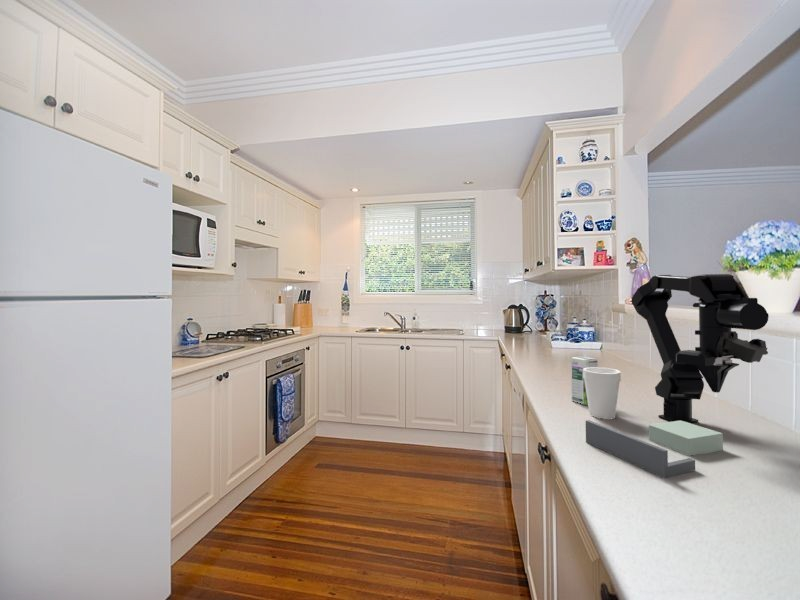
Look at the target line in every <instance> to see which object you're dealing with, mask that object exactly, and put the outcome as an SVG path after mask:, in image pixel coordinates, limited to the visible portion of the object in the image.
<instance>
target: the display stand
mask: <svg viewBox="0 0 800 600" xmlns="http://www.w3.org/2000/svg"><path fill="white" fill-rule="evenodd" d="M585 443H587V444H589V445H591V446H594V447H596V448H598V449H600V450H603V451H605V452H607V453H609V454H611V455H614V456H615V457H618V458H620V459H622V460H624V461H626V462H629V463H631V464H633V465H635V466H637V467H639V468H642V469H644V470H646V471H648V472H650V473H653V474H654V475H657V476H659V477H662V478H664V479H665V478H669V477H670V478H671V477H674V476H678V475H681V474H686V473H690V472H694V471H696V459H693V458H691V457H689V458H684V459H678V460H674V461H669V462H668V460H669V457H668V450H667V449H665V448H662V447H660V446H657V445H655V444H653V443H650V442H647V441H644V440H641V439H638V438H636V437H634V436H631V435H628V434H626V433H623V432H621V431H618V430H617V429H615V428H610V427H608V426H605V425H603V424H600V423H598V422H594V421H593V420H590V419H587V420H585Z"/></svg>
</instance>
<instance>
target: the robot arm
mask: <svg viewBox="0 0 800 600" xmlns="http://www.w3.org/2000/svg"><path fill="white" fill-rule="evenodd" d="M661 290H662V291H661ZM672 291H679V292H680V291H682V292H688V293H689V295H691V296H693V297H696V298H698V300H696V301H695V302H694V303H693V304H692V307H693V308H698V317H699V318H698V321H699V322H698V323H699V324H698V325H699V326H698V327H699V328H698V330H697V329H696V330H695V329H694V335H697V336H699V338H698V339H699V346H695V347H694V349H692V350H691V349H686V350H685V349H684V350H683V349H682V350H681V348H680V345H679V343H678V341H677V338H676V336H675V334H674V331H673V329H672V326H671V324H670V322H669V319H668V317H667V314H666V313H667V311H668V308H669V304H668V302H669V301H670V300H671V299H672V297H673V293H672ZM631 303H632V305H633V307H634V309H635V312H636V314H638V315H639V316H640V317H641V318H643V319H644V320H645V321H646V323H647V325H648V328H649V330H650V333H651V336H652V338H653V341H654V343H655V346H656V348H657V350H658V353H659V356H660V359H661V361H662V364H663V365H662V369H661V371H660V377H661V380H660V381H659V382H658V383H657V385H656V386H655V387H654V390H655V395H656V396H657V397H660V398H663V405H662V406H663V414H659V415H658V418H660V419H663V420H667V421H668V422H672V421H680V420H681V421H684V422H688V423H691V424H694V423H699V419H698V418H693V400H701V397H702V394H703V391H704V387H705V382H706V383H707V384H708V385H707V386H709V389H711V392H713V393H716V394H717V393H720V392H721V390H722V387H723V385H724V384H725V383H724V382H725V380H726V377H727V375H728V373H729V372H730V371H731V370H732V369H734V368H735V367H739V366H740V363H736V362H733V359H737V360H741V361H742V362H744V363H748V364H750V363H751V364H752V363H754V362H756V363H760V362H761V360H762V358H763V356H766V355H768V354H769V352H768V351H767V350H768V347H767V344H766V341H765V340H762V339H760V338H753V339H751V340H750V341H749V340H746V339H745V340H744V339H740V338H739V336H738V335H739V334H738V333H737V331H735V330H733V331H732V329H737V330H738V329H739V330H749V331H750V330H751V331H758V330H760V329H763V328H764V327H765V326H766V325H767V323H768V321H769V316H770V315H769V313H768V312H767V310H766V308H765V306H763V305H761V304H760V303H759V302H758V298H757V297H748V296H747V294H746V292H745V291H744V290H743V289H742V287H741V286H740V284H739V283H738V281H737V280H736V279H735V278H734V275H733V274H730V273H717V274H716V273H715V274H714V273H712V274H711V273H710V274H704V273H703V274H702V273H701V274H697V275H692V276H683V275H682V276H681V275H672V274H656V275H652V277H651V278H650V279H649V281H647V282H645V284H643V285H641V286H639V287H637V289H636V291H635V292H634V294H633V295H632V296H631ZM703 379H704V380H705V382H704V380H703Z"/></svg>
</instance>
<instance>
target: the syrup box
mask: <svg viewBox="0 0 800 600" xmlns="http://www.w3.org/2000/svg"><path fill="white" fill-rule="evenodd" d="M598 361H599V359H598V358H593V357H587V356H586V357H585V356H573V357H571V358H570V362H571V363H570V365H571V366H570V369H571V370H570V371H571V373H570V374H571V380H570V381H571V402H573V401H574V403H577V402H578V403H577V404H580V403H581V404H580V405H583V406H584V405H585V406H588V400H587V394H586V387H585V381H584V378H583V369H584V368H590V367H598ZM598 368H599V367H598Z"/></svg>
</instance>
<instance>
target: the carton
mask: <svg viewBox="0 0 800 600" xmlns="http://www.w3.org/2000/svg"><path fill="white" fill-rule="evenodd" d="M723 435H724V433H722V432H720V431H717V430H714V429H709V428H706V427H703V426H700V425H697V424H694V423H688V422H684V421H681V420H680V421H667V422H660V423H652V424H648V440H649V441H650V442H653V443H655V444H658V445H660V446H663V447H666V448H667V447H668V449H670V448H671V449H670V450H673V451H675V450H676V451H675V452H678V453H680V452H681V454H683V455H685V454H686V456H688V457H692V456H691V455H693V456H698V455H704V454H708V453H709V452H710V453H715V451H716V452H719V451H724V436H723ZM703 453H704V454H703ZM697 454H698V455H697Z"/></svg>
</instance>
